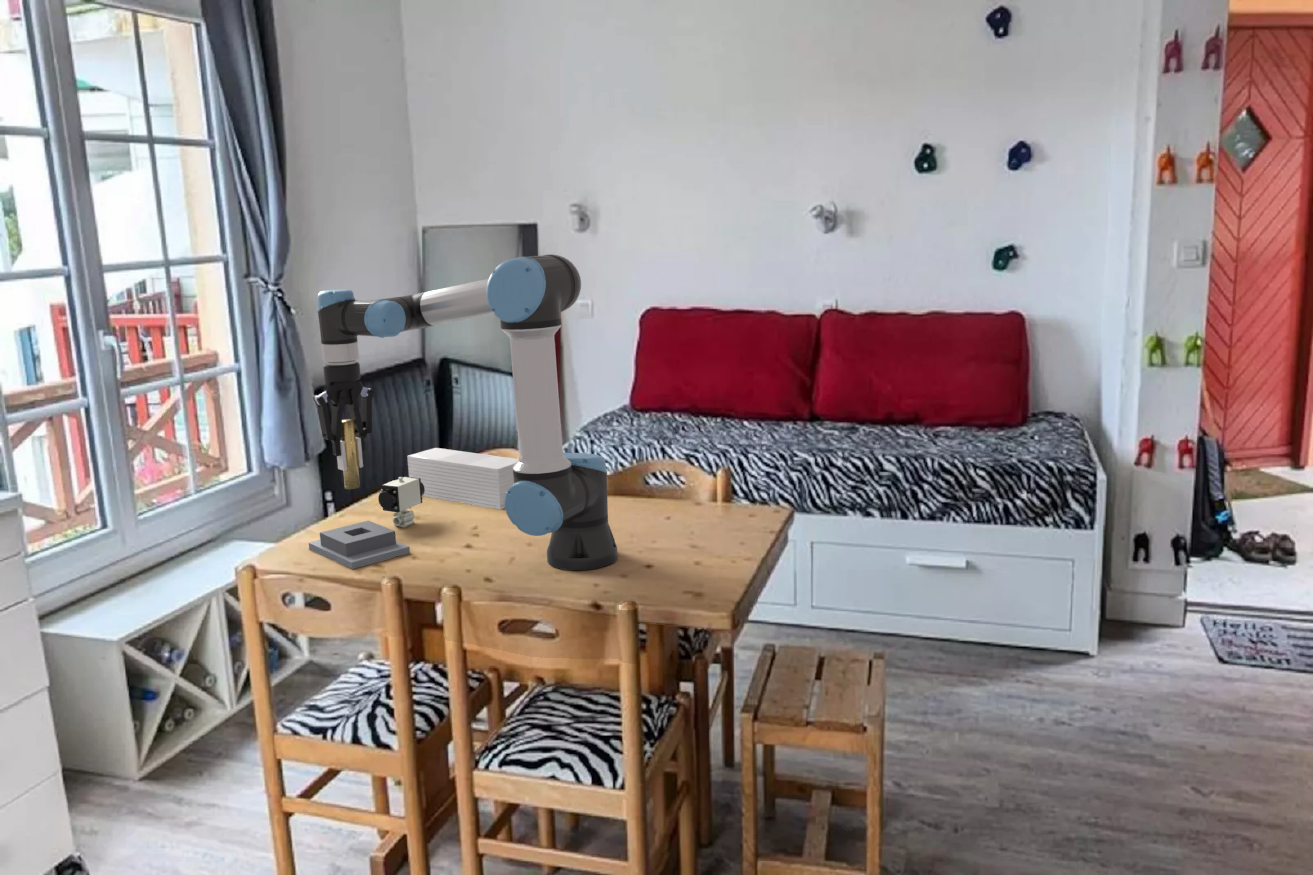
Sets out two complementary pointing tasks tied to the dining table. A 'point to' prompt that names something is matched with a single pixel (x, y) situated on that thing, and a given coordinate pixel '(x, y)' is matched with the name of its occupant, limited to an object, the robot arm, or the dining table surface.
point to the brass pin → (350, 454)
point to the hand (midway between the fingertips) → (350, 467)
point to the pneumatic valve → (401, 498)
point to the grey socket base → (359, 544)
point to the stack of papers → (463, 476)
